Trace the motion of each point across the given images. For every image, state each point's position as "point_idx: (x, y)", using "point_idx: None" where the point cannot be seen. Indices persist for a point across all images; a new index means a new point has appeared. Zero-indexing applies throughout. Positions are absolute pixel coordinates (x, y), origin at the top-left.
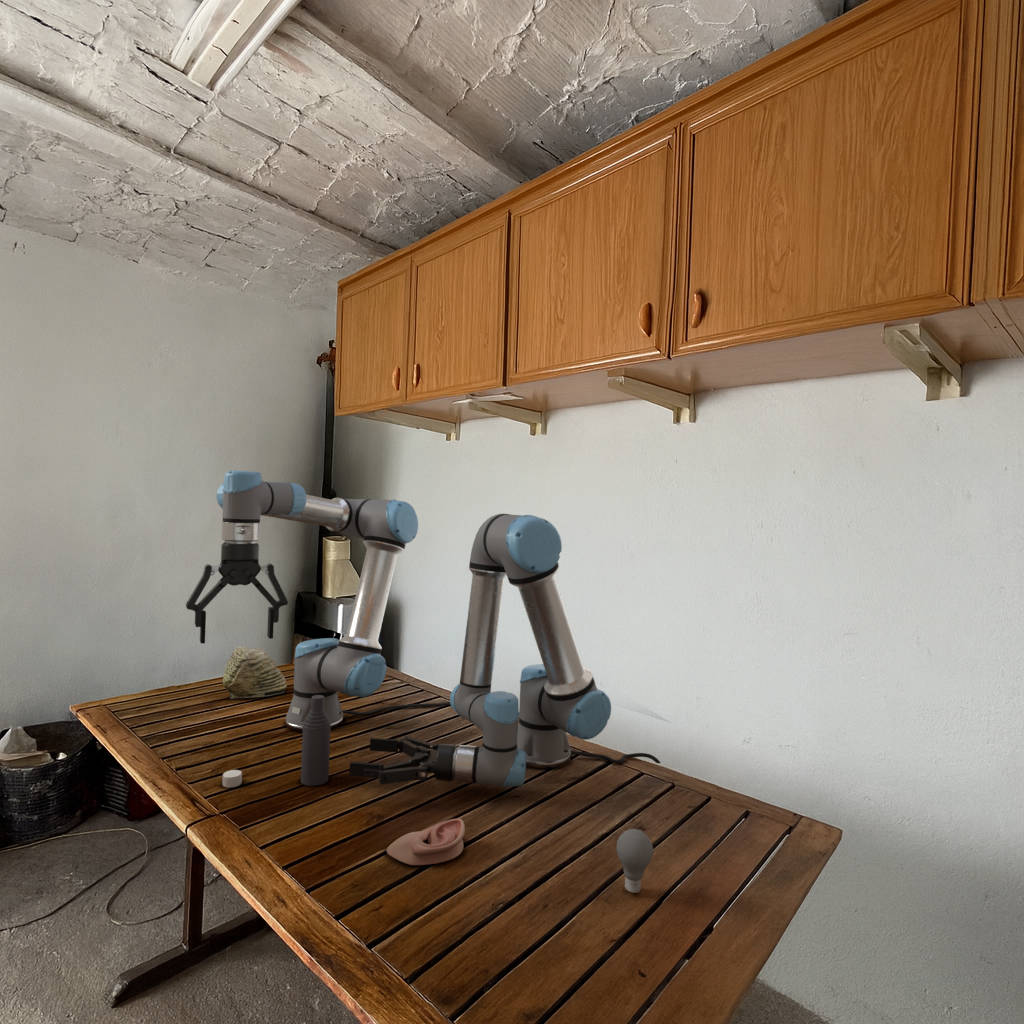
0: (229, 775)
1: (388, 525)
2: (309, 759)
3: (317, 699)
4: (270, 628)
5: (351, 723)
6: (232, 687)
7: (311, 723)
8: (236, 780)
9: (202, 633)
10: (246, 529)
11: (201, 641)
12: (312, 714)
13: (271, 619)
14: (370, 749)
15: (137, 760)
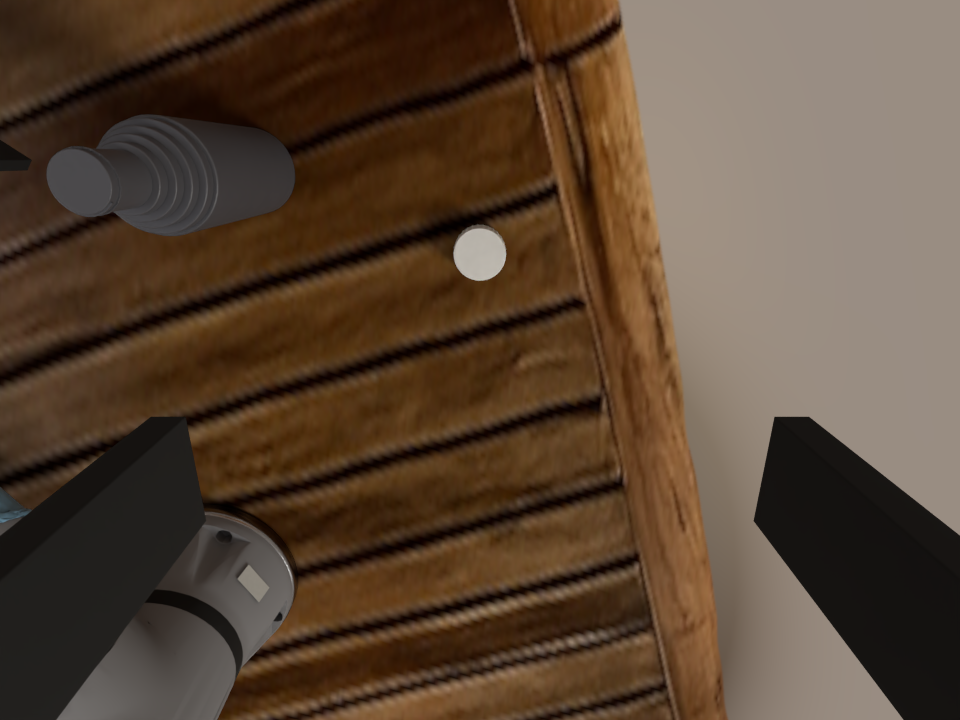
0: (489, 244)
1: None
2: (243, 134)
3: (84, 149)
4: (115, 473)
5: None
6: None
7: (175, 138)
8: (471, 228)
9: (859, 469)
10: None
11: (816, 424)
12: (152, 155)
13: (21, 544)
14: (26, 157)
15: (678, 494)
